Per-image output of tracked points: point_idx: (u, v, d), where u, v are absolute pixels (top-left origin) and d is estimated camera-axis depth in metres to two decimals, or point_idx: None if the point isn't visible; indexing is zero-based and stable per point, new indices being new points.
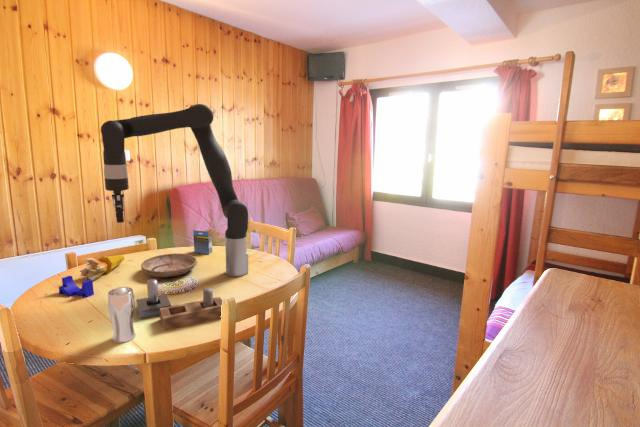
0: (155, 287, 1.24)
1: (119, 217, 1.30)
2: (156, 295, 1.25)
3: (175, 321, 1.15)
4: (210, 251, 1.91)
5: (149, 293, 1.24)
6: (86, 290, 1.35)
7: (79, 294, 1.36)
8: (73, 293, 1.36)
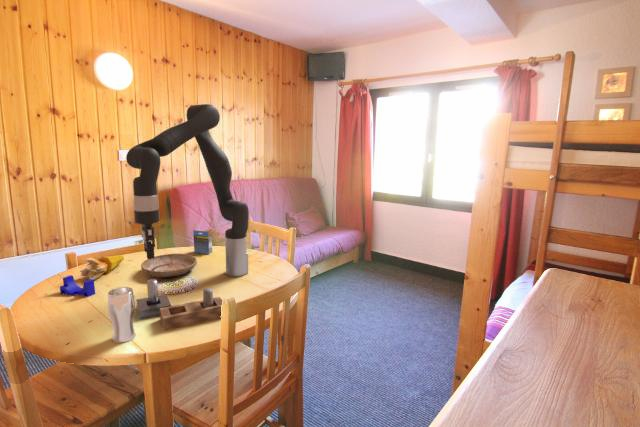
0: (155, 287, 1.24)
1: (150, 253, 1.18)
2: (156, 295, 1.25)
3: (175, 321, 1.15)
4: (210, 251, 1.91)
5: (149, 293, 1.24)
6: (88, 289, 1.35)
7: (80, 293, 1.37)
8: (74, 293, 1.37)
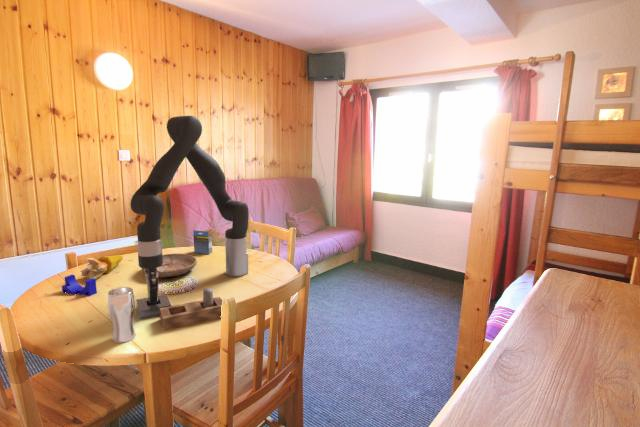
0: None
1: (153, 297, 1.23)
2: None
3: (175, 321, 1.15)
4: (210, 251, 1.91)
5: (149, 293, 1.24)
6: (89, 289, 1.36)
7: (82, 293, 1.37)
8: (76, 292, 1.38)
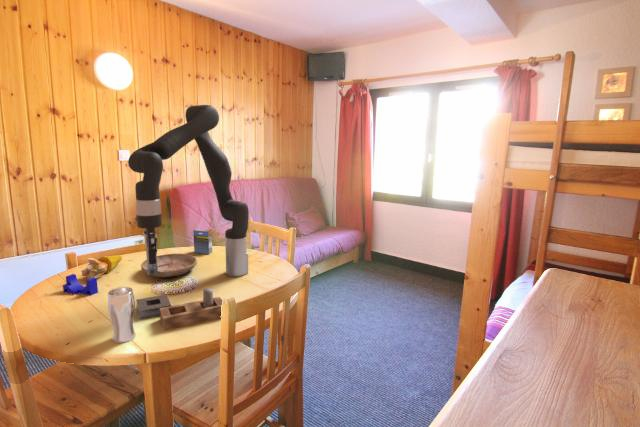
0: None
1: (152, 258, 1.20)
2: None
3: (175, 321, 1.15)
4: (210, 251, 1.91)
5: (148, 255, 1.21)
6: (90, 288, 1.37)
7: (83, 292, 1.38)
8: (77, 291, 1.38)
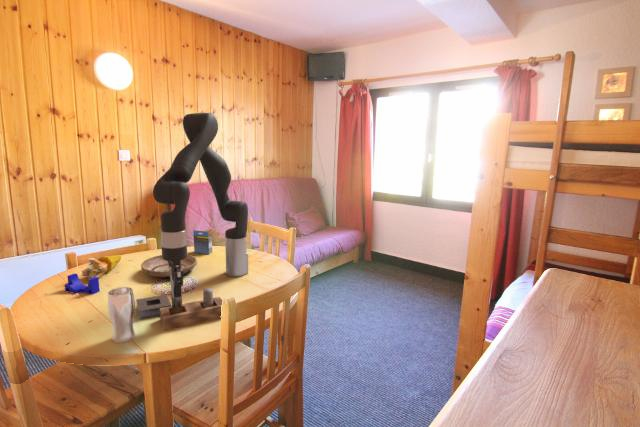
0: None
1: (177, 292, 1.15)
2: None
3: (175, 321, 1.15)
4: (210, 251, 1.91)
5: (172, 288, 1.16)
6: (92, 287, 1.38)
7: (85, 291, 1.39)
8: (79, 290, 1.39)
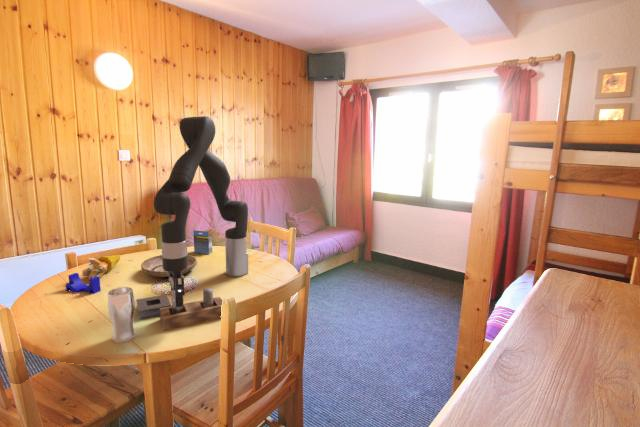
0: None
1: (179, 301, 1.14)
2: None
3: (175, 321, 1.15)
4: (210, 251, 1.91)
5: (174, 303, 1.17)
6: (93, 286, 1.38)
7: (86, 290, 1.39)
8: (80, 290, 1.39)
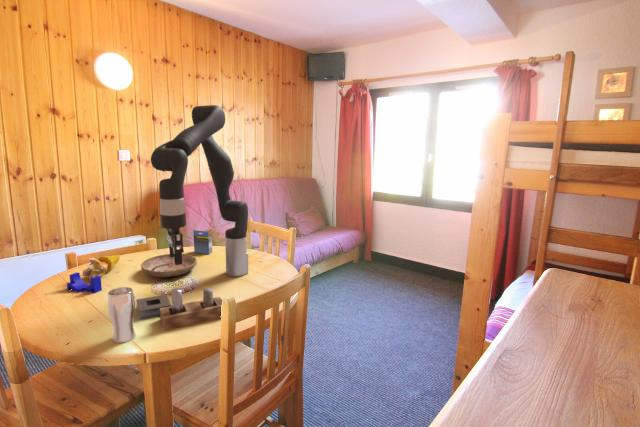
0: (180, 297, 1.17)
1: (178, 259, 1.13)
2: (181, 305, 1.18)
3: (175, 321, 1.15)
4: (210, 251, 1.91)
5: (174, 303, 1.17)
6: (95, 286, 1.39)
7: (87, 290, 1.40)
8: (81, 289, 1.40)
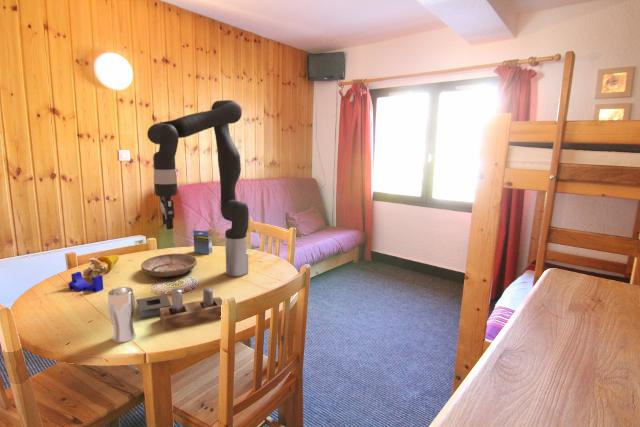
0: (180, 297, 1.17)
1: (169, 224, 1.26)
2: (181, 305, 1.18)
3: (175, 321, 1.15)
4: (210, 251, 1.91)
5: (174, 303, 1.17)
6: (96, 285, 1.40)
7: (89, 289, 1.41)
8: (83, 288, 1.41)
